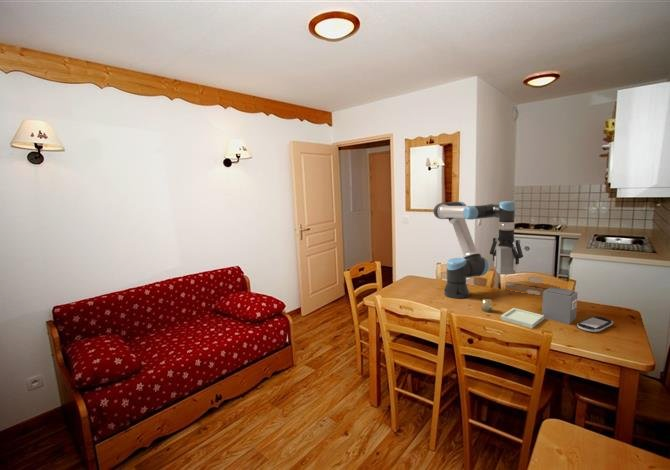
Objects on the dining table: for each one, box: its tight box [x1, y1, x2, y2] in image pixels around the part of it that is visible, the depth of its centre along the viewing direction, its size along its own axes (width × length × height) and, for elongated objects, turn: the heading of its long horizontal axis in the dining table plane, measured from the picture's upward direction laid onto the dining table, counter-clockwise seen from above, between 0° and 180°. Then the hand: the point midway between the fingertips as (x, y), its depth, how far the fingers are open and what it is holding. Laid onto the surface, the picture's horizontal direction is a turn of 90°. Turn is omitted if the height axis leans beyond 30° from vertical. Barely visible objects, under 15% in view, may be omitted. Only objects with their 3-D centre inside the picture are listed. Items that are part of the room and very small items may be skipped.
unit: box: [541, 286, 578, 325], centre depth 162 cm, size 12×10×15 cm
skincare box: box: [495, 245, 517, 275], centre depth 179 cm, size 8×7×16 cm
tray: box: [500, 307, 545, 329], centre depth 165 cm, size 15×15×2 cm
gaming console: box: [576, 315, 614, 334], centre depth 153 cm, size 19×9×2 cm, turn 117°
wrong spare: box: [481, 298, 493, 313], centre depth 178 cm, size 5×5×6 cm
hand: (505, 268), depth 180 cm, fingers closed on skincare box, 10 cm apart
